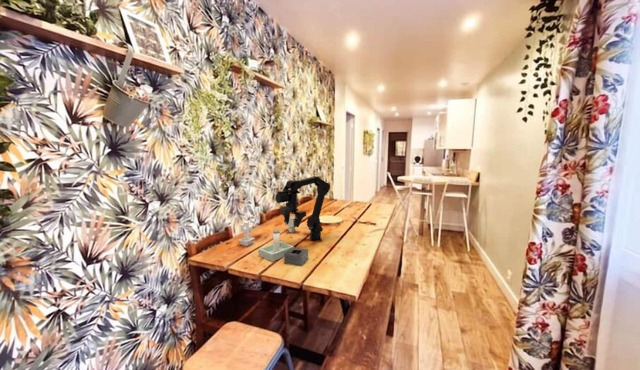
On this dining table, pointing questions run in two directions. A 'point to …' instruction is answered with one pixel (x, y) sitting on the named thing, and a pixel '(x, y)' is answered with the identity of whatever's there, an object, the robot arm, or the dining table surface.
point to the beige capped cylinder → (276, 241)
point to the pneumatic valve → (291, 224)
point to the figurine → (246, 234)
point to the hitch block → (296, 256)
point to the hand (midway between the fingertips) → (292, 225)
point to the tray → (269, 255)
